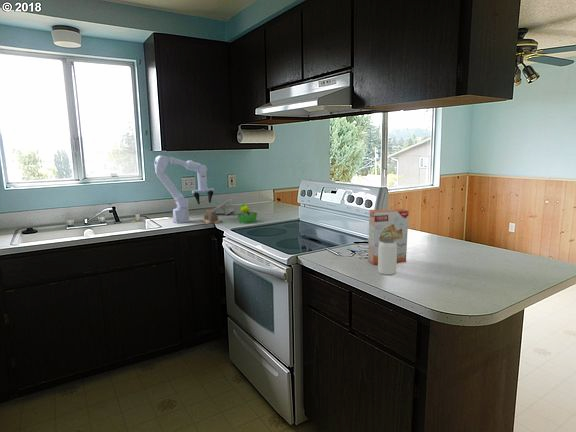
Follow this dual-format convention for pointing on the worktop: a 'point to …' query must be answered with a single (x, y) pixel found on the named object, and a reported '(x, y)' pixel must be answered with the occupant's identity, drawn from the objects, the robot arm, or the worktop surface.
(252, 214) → the fruit basket
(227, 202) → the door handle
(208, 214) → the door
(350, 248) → the worktop surface
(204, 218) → the beige irregular piece
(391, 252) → the can
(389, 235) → the cracker box
